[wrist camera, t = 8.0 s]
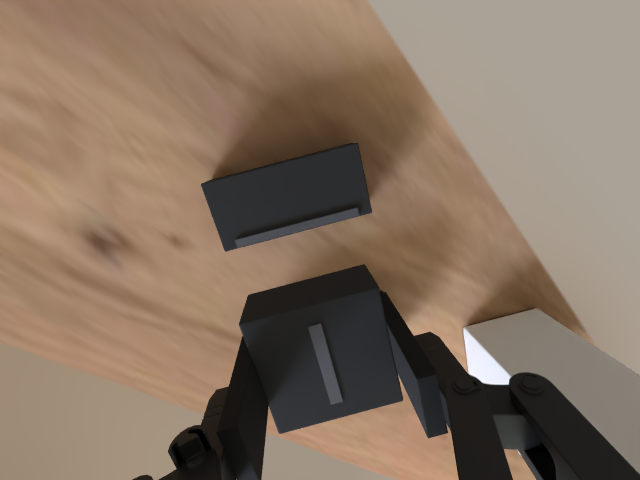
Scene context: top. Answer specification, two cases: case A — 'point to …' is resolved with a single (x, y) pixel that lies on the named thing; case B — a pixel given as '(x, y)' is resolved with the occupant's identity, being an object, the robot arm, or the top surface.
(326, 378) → the loose pad
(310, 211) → the pad row
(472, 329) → the milk carton
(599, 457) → the robot arm
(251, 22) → the top surface
